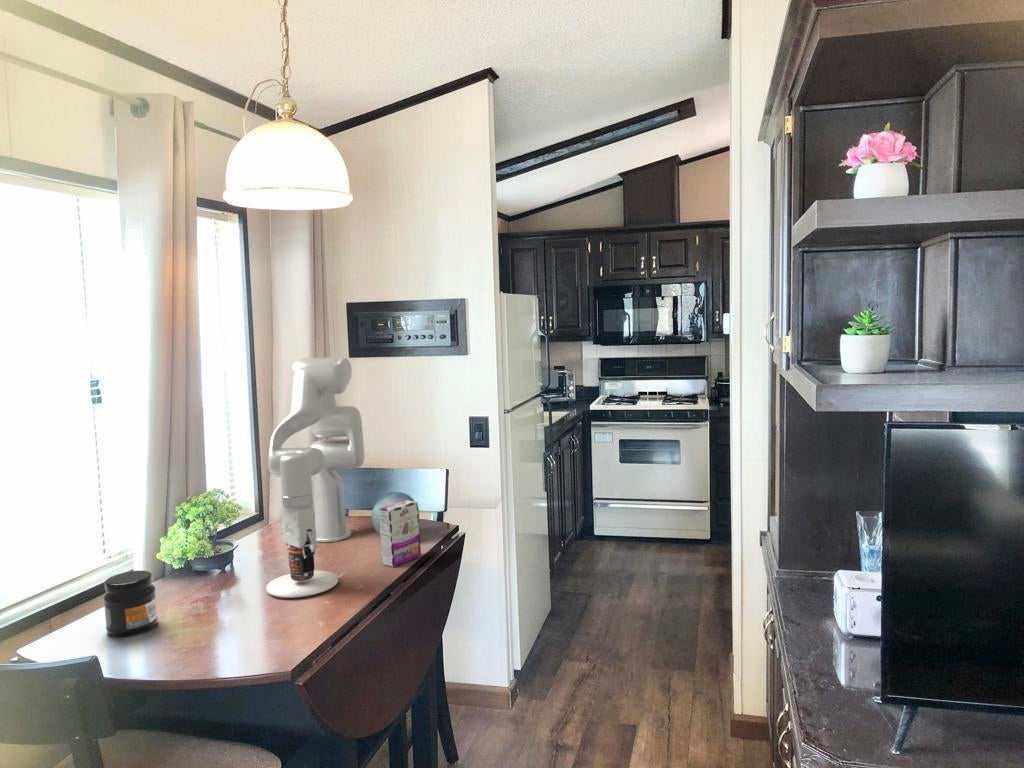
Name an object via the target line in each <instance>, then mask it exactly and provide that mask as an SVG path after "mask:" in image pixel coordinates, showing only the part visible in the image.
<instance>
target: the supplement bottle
mask: <svg viewBox="0 0 1024 768" xmlns="http://www.w3.org/2000/svg"><path fill="white" fill-rule="evenodd" d="M307 544H309V543H308V542H306V543H305V545H307ZM308 548H309V547H306V548H305V550H306V551H307V549H308ZM302 558H303V555H302V551H301V548H297V547H294V546H292V545H290V546H289V552H288V560H289V559H290V566H289V571H290V572H289V574H290V575H291V579H292V580H294V581H305V580H308V579H311V578H312V577H313V576H314V570H315V569H314V570H313V571H310V572H307V573H303V572H302Z"/></svg>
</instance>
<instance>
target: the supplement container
mask: <svg viewBox="0 0 1024 768" xmlns="http://www.w3.org/2000/svg"><path fill="white" fill-rule="evenodd" d="M104 589H105V593H104V594H103V597H102V598H103V602H104V612H105V613H104V614H105V629H106V632H107V634H109V635H111V636H114V637H130V636H129V635H131V636H134V634H135V635H138V633H139V634H143V633H145V632H147V631H149V630H150V628H151V629H152V628H153V627H154V626H156V625H157V622H158V621H159V619H158V618H159V617H158V609H157V599H156V597H157V596H156V591H157V590H156V589H157V588H156V586H155V584H153V574H152V572H150V571H148V570H131V571H126V572H121V573H118V574H115V575H113V576H110V577H108V578H107V579H106V580H105V581H104ZM144 631H145V632H144Z"/></svg>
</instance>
